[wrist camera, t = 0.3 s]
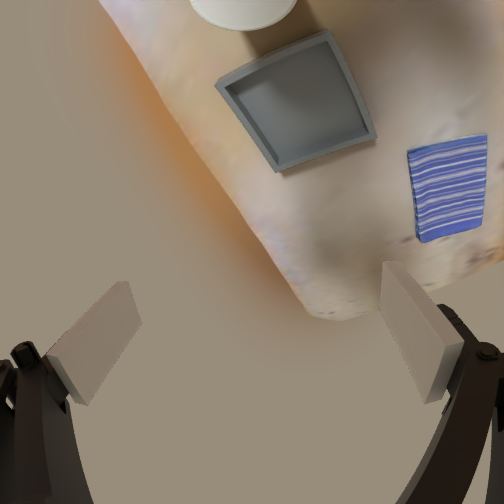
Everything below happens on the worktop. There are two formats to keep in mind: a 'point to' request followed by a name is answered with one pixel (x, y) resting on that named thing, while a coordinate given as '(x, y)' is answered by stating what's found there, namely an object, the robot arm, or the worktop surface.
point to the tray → (299, 101)
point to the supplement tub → (242, 13)
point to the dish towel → (448, 185)
